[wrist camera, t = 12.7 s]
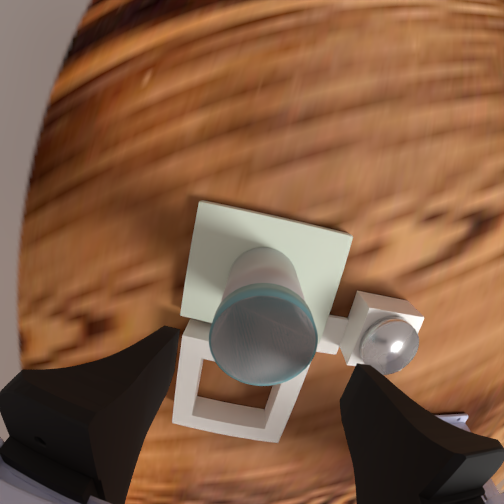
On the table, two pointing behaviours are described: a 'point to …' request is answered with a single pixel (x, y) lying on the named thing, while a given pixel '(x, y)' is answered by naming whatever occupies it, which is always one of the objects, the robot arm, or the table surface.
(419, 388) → the table surface
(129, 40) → the table surface
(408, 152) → the table surface
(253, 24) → the table surface
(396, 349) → the plunger
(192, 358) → the holder
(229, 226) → the pad
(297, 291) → the cartridge
